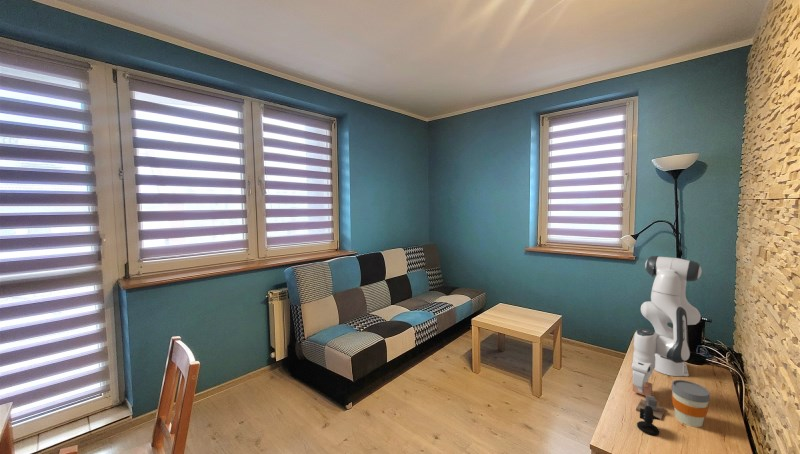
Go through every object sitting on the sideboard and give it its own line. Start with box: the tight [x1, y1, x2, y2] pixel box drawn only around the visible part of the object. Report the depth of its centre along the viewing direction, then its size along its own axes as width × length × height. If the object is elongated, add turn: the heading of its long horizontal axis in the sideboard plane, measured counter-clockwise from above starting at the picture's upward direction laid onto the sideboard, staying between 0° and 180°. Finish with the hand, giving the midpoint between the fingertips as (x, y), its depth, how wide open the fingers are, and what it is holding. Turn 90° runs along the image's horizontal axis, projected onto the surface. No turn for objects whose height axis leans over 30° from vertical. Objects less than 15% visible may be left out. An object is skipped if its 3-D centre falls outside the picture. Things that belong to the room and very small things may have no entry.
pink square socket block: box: [632, 381, 654, 397], centre depth 158 cm, size 7×7×4 cm
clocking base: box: [635, 395, 666, 421], centre depth 146 cm, size 10×9×6 cm
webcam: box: [636, 406, 661, 436], centre depth 134 cm, size 8×8×10 cm
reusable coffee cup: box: [670, 379, 711, 428], centre depth 139 cm, size 13×13×15 cm
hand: (642, 388), depth 158 cm, fingers closed on pink square socket block, 7 cm apart
